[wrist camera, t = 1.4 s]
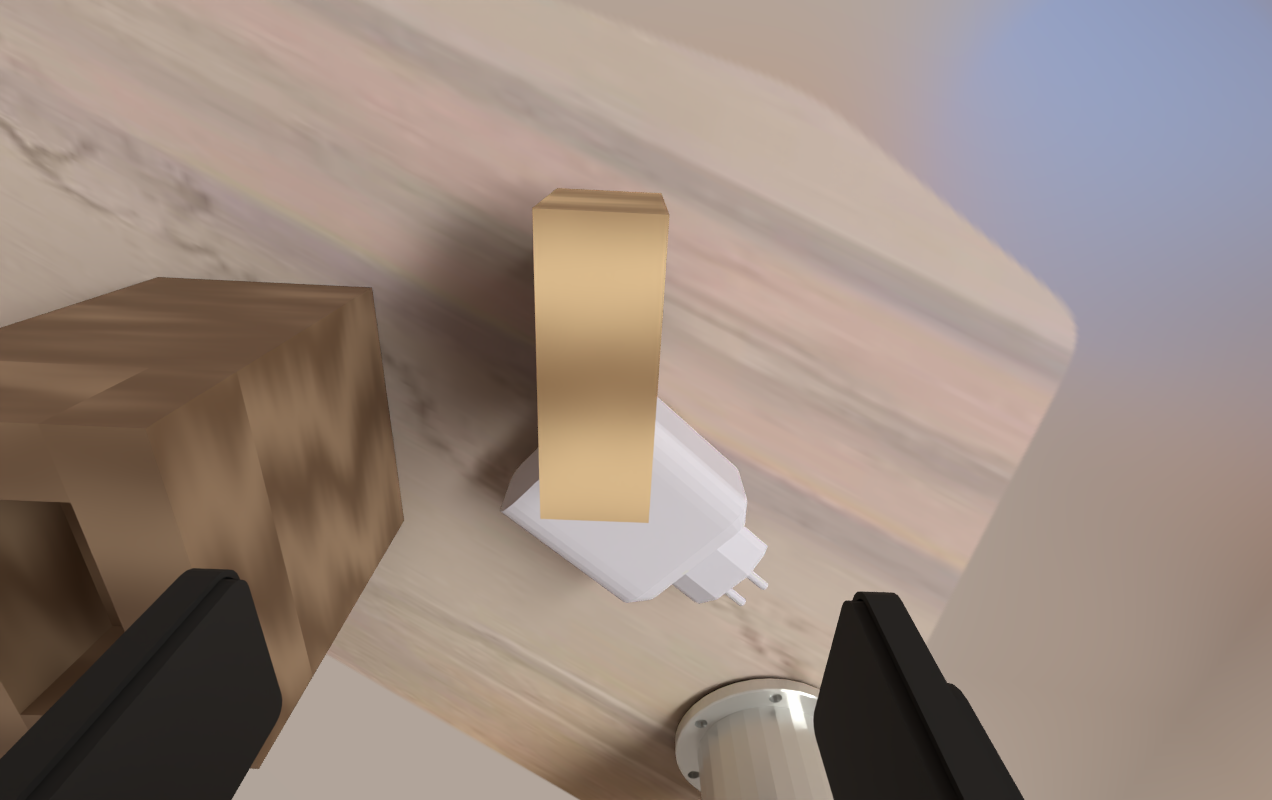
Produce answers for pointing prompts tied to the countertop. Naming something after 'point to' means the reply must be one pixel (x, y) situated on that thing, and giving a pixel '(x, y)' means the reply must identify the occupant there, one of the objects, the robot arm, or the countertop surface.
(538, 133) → the countertop surface
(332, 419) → the wooden crate
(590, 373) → the tan rectangular block
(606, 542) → the charger
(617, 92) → the countertop surface
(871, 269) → the countertop surface
